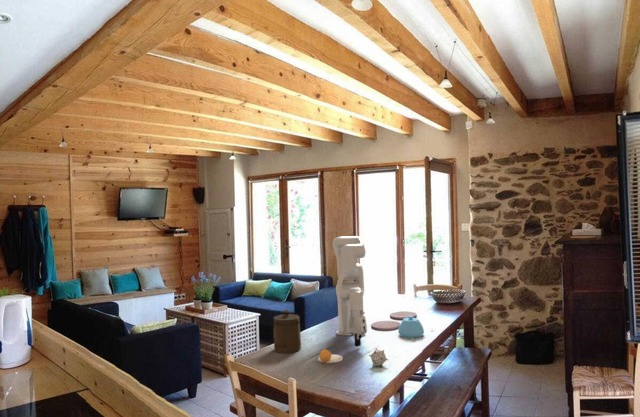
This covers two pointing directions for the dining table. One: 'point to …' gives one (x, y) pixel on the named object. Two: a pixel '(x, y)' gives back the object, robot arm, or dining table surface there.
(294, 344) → the wooden container
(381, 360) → the game die
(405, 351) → the dining table surface
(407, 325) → the sugar bowl
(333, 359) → the cream disc
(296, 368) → the dining table surface
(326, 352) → the ball
